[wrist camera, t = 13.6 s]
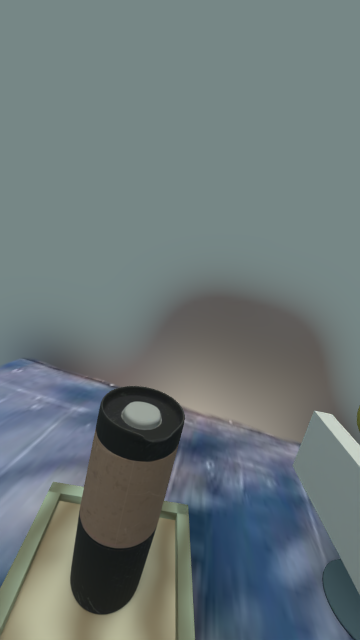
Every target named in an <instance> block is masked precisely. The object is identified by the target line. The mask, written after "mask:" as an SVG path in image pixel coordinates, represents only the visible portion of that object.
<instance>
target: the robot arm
mask: <svg viewBox="0 0 360 640" xmlns="http://www.w3.org/2000/svg"><path fill="white" fill-rule="evenodd" d="M293 467H294V469H295V471H296V473H297V475H298V477H299V479H300V481H301V483H302V485H303V487H304V489H305V490H306V492H307V494H308V496H309V498H310V500H311V502H312V504H313V506H314V508H315V510H316V512H317V514H318V515H319V517H320V519H321V521H322V523H323V525H324V527H325V529H326V531H327V533H328V535H329V537H330V539H331V541H332V542H333V544H334V546H335V548H336V550H337V552H338V554H339V556H340V558H341V560H342V562H343V564H344V566H345V567H346V569H347V571H348V573H349V575H350V577H351V579H352V581H353V583H354V585H355V587H356V589H357V591H358V593H359V594H360V445H359V444H358V443H357V442H356V441H355V440H354V439H353V438H352V437H351V435H350V434H349V433H348V432H347V431H346V430H345V429H344V427H343V426H342V425H341V424H340V423H339V422H338V421H337V420H336V418H335V417H334V416H333V415H332V414H327V413H323V412H318V411H314V413H313V416H312V418H311V421H310V423H309V426H308V428H307V431H306V433H305V436H304V438H303V441H302V443H301V446H300V448H299V451H298V453H297V456H296V458H295V461H294V464H293Z"/></svg>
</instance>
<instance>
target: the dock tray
mask: <svg viewBox="0 0 360 640" xmlns="http://www.w3.org/2000/svg"><path fill="white" fill-rule="evenodd" d="M83 490H84V487H80V486H75V485H69V484H63V483H57V482H53V483H52V485H51V487H50V489H49V491H48V493H47V495H46V497H45V499H44V501H43V503H42V505H41V507H40V510H39V512H38V514H37V516H36V518H35V520H34V522H33V524H32V526H31V528H30V530H29V532H28V534H27V536H26V538H25V540H24V542H23V544H22V546H21V548H20V550H19V552H18V554H17V556H16V558H15V560H14V562H13V564H12V566H11V568H10V570H9V572H8V574H7V576H6V578H5V580H4V582H3V584H2V586H1V588H0V640H195V632H194V613H193V593H192V574H191V554H190V535H189V515H188V505H185V504H179V503H173V502H167V501H164V502H163V506H162V510H161V513H160V517H159V521H158V524H157V528H156V531H155V534H154V537H153V540H152V544H151V547H150V550H149V553H148V556H147V559H146V563H145V566H144V569H143V572H142V575H141V578H140V581H139V584H138V587H137V589H136V592H135V593H134V595H133V597H132V598H131V600H130V601H129V602H128V603H127V604H126V605H125V606H124V607H122V608H121V609H119V610H118V611H116V612H113V613H110V614H94V613H91V612H89V611H87V610H85V609H84V608H83V607H81V606H80V605H79V604H78V602H77V601H76V599H75V597H74V595H73V593H72V590H71V584H70V575H71V566H72V558H73V552H74V545H75V538H76V531H77V524H78V517H79V511H80V505H81V500H82V495H83Z"/></svg>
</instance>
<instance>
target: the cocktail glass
mask: <svg viewBox="0 0 360 640" xmlns="http://www.w3.org/2000/svg"><path fill="white" fill-rule="evenodd" d="M357 425H358V428H359V431H360V407H359V409H358V413H357ZM323 586H324V591H325V594H326V597H327V600H328V602H329V604H330V606H331V608H332V610H333V612H334V614H335V615H336V617H337V619H338V620H339V621H340V623H341V624H342V626H343V627H344V628H345V629H346V631H347V632H348V633H349V634H350V635H351V637H352V638H353V639H354V640H360V594H359V593H358V591H357V589H356V587H355V585H354V583H353V581H352V579H351V577H350V575H349V573H348V571H347V569H346V567H345V566H344V564H343V562H342V560H341V559H338V560H334V561H331V562H330V563H328V564H327V566H326V567H325V570H324V572H323Z"/></svg>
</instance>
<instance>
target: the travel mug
mask: <svg viewBox="0 0 360 640" xmlns="http://www.w3.org/2000/svg"><path fill="white" fill-rule="evenodd" d="M184 420H185V415H184V411H183V409H182V407H181V406H180V405H179V403H178V402H176V400H174V399H173V398H172V397H170V396H168V395H167V394H165V393H163V392H160V391H158V390H155V389H151V388H147V387H139V386H127V387H121V388H117V389H114V390H112V391H110V392H109V393H107V394H106V395H105V397H104V398H103V400H102V402H101V405H100V409H99V414H98V419H97V424H96V430H95V435H94V440H93V445H92V450H91V455H90V460H89V465H88V470H87V475H86V480H85V485H84V490H83V495H82V500H81V505H80V511H79V517H78V524H77V531H76V538H75V545H74V552H73V558H72V566H71V575H70V584H71V590H72V593H73V595H74V597H75V599H76V601H77V602H78V604H79V605H80V606H81V607H83V608H84V609H85V610H87V611H89V612H91V613H94V614H110V613H113V612H116V611H118V610H119V609H121V608H122V607H124V606H125V605H126V604H127V603H128V602H129V601H130V600H131V598H132V597H133V595H134V593H135V592H136V589H137V587H138V584H139V581H140V578H141V575H142V572H143V569H144V566H145V563H146V559H147V556H148V553H149V550H150V547H151V544H152V540H153V537H154V534H155V531H156V528H157V524H158V521H159V517H160V513H161V510H162V506H163V502H164V498H165V494H166V490H167V487H168V483H169V479H170V475H171V471H172V467H173V464H174V460H175V456H176V452H177V448H178V444H179V441H180V437H181V433H182V429H183V425H184Z"/></svg>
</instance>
